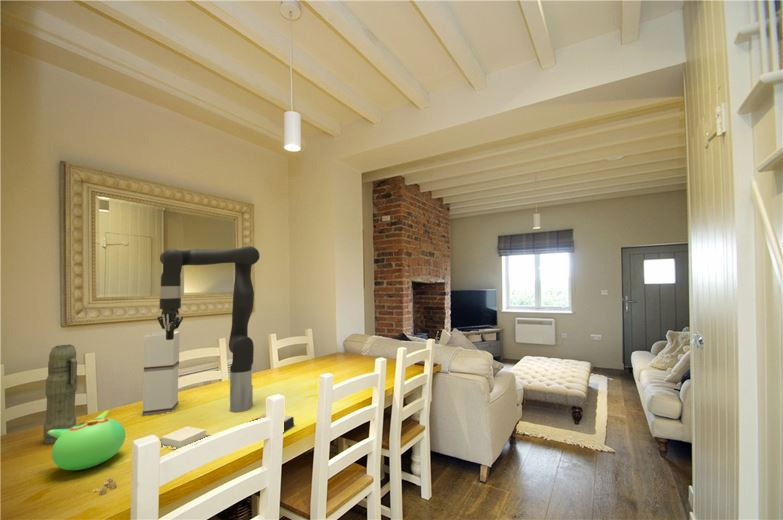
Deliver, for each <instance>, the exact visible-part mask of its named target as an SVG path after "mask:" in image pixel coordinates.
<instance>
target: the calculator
mask: <svg viewBox="0 0 783 520" xmlns="http://www.w3.org/2000/svg"><path fill="white" fill-rule="evenodd" d="M284 416H285V419H284V433H285V432H287V431H288V430H290V429H291V428H293V427H294V426H295V420H294V416H292V415H291V416H289V415H284ZM265 417H266V414H265V413H264V414H262V415H260V416H258V417H256V418H254V419H251V420H250V421H249V422H251V421H254V420H258V419H261V418H265Z"/></svg>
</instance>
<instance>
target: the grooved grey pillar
mask: <svg viewBox="0 0 783 520" xmlns="http://www.w3.org/2000/svg"><path fill="white" fill-rule="evenodd" d="M180 332H181V331H174V338H173V340H166V331H165V332H152V333H151V335H144V338H143V339H144V342H143V345H144V347H143V350H144V351H143V383H142V384H143V385H142V386H143V388H142V391H143V393H142V417H146V415H148V416H154V415H153V414H156V415H162V414H161V413H164V414H168V413H167V412H172V411H173V410H174V409H175V408H176V409H177V407H178V406H179V368H180V338H181V337H180V334H181V333H180ZM177 405H178V406H177ZM176 409H175V410H176ZM175 410H174V411H175ZM174 411H173V412H174ZM173 412H172V413H173Z"/></svg>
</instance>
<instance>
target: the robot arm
mask: <svg viewBox="0 0 783 520" xmlns="http://www.w3.org/2000/svg"><path fill="white" fill-rule="evenodd" d="M259 259H260V252H259V250H258V249H257V248H256V247H254V246H250V245H247V246H246V245H245V246H241V247H238V248H228V249H227V248H226V249H220V248H219V249H215V248H214V249H213V248H211V249H208V248H197V249H196V248H195V249H194V248H193V249H187V250H186V249H184V250H178V249H175V248H170V249H167V250H165V251H163V252H162V253H160V255H159V261H160V262H161V264H162V273H161V276H160V290H159V305H158V306H159V310H161V315H160V316H158V317H157V321H158V323H159V325H160V327H161V329H162V330H164V331H165V332H166V340H173V338H174V332H175V330H177V329H179V327H180V325H181V323H182V322H183V320H184V317H183V316H180V311H179V309H181V308H182V288H181V287H182V286H181V285H182V284H181V283H182V281H181V280H182V279H181V273H182V269H183V266H208V265H209V266H211V265H219V264H234V281H233V282H234V284H233V292H232V293H233V294H232V296H233V297H232V307H231V308H232V311H231V313H232V314H231V329H230V335H229V341H228V348H229V351H230V352H231V353H232V361H231V362H232V363H231V364H230V367H229V373H230V374H229V387H230V388H229V411H230V412H234V413H240V412H245V411H248V410H250V409H251V408H252V406H253V404H254V403H253V402H254V401H253V398H254V396H253V393H254V391H253V388H254V387H253V386H254V385H253V382H252V380H253V372H252V371H253V370H252V369H253V368H252V367H253V364H254V354H255V353H254V351H255V349H254V348H255V345H254V342H253V339H252V338H250V337H249V336H248V335H249V334H248V332H249V331H248V328H249V327H248V325H249V321H250V319H251V316H252V313H253V309H254V304H255V303H254V302H255V292H254V291H255V290H254V287H253V286H254V285H253V282H252V277H251V276H252V275H251V274H252V273H251V272H252V266H253V265H255V264H257V262H258V261H259Z"/></svg>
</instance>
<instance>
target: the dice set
mask: <svg viewBox="0 0 783 520" xmlns="http://www.w3.org/2000/svg"><path fill="white" fill-rule="evenodd" d="M108 488H109V490H115V488H117V481H114V477H109V478H108V479H106V482H103V486H102V487H101V488H95V489H93V490H92V493H99V495H100V496H103V495H105V494H107V489H108Z"/></svg>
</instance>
